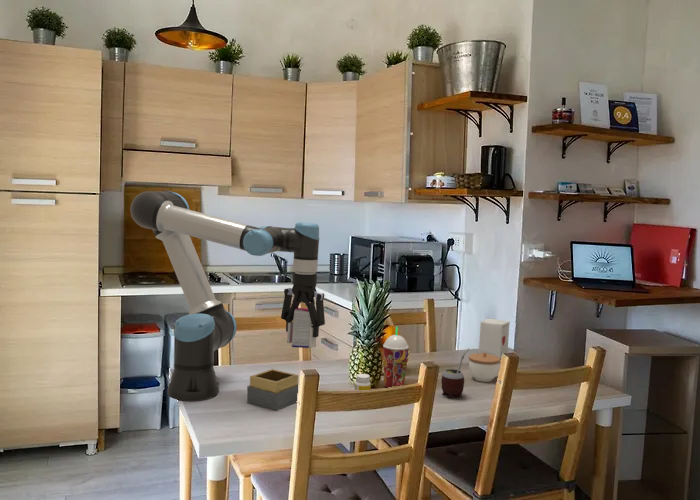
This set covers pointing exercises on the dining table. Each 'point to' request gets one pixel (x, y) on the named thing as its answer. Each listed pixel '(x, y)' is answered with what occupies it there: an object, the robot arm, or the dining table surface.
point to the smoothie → (395, 360)
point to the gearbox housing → (273, 389)
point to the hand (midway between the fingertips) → (301, 344)
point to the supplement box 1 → (301, 328)
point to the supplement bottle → (362, 382)
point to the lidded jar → (484, 366)
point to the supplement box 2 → (494, 337)
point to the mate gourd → (453, 381)
